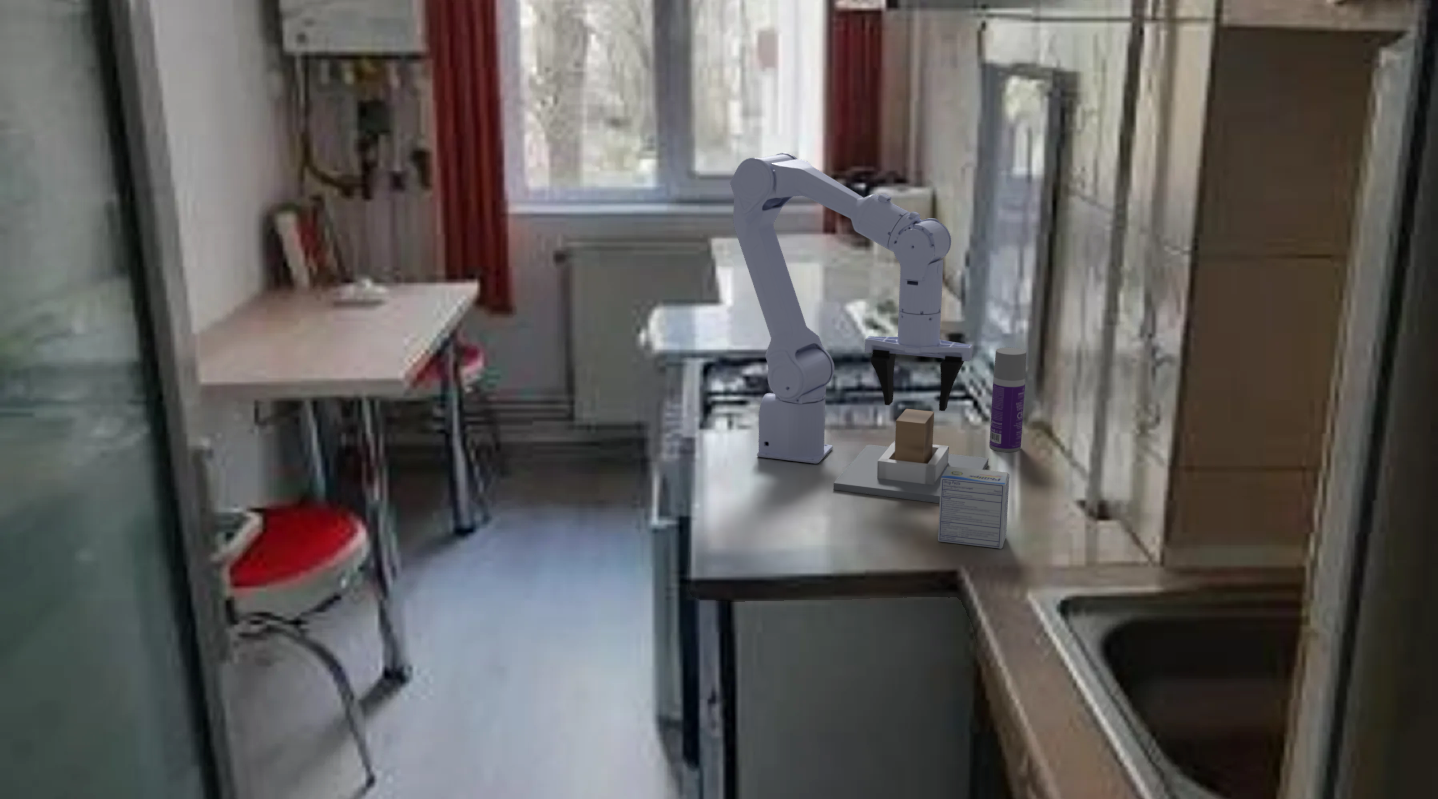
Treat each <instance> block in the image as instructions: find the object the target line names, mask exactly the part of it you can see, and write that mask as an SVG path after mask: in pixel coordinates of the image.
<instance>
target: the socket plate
mask: <svg viewBox="0 0 1438 799" xmlns="http://www.w3.org/2000/svg"><path fill="white" fill-rule="evenodd" d="M949 451H950V446H949V445H943V444H942V445H941V444H933V448H932V458H931V460H930V461H929V463H928V464H925V463H916V462H908V461H899V460H895V439H894V440H893V441H892V442H891V444H890V445H889V446H886V445H885V446H884V445H876V444H875V445H874V444H869V443H867V444H866V445H865V447H864V448H863V449H862V450H861V451H860V452H859V453H858V455H857V456H856V457H855V458H854V459H853V460H852V462H851V463H850V464H848V466H847V467H846V468H845V469H844V471H843V472H842V473H840V475H839V476H838V477H837V478H836V480H834V482H833V491H839V492H840V491H841V492H848V493H849V492H850V493H857V494H862V495H863V494H864V495H872V496H880V497H887V498H894V499H895V498H896V499H902V500H903V499H905V500H911V501H917V502H918V501H920V502H926V503H927V502H928V503H935V504H940V482H941V477H942V475H943V473H944V471H945V470H946V468H947V467H948V466H950V467H961V468H971V469H982V470H987V467H988V466H989V458H988V457H982V456H981V457H980V456H971V455H963V454H954V453H950V452H949Z"/></svg>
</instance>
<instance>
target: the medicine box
mask: <svg viewBox="0 0 1438 799" xmlns="http://www.w3.org/2000/svg"><path fill="white" fill-rule="evenodd" d="M1010 476H1011V475H1010V473H1009V472H1006V471H1000V470H999V471H998V470H989V469H985V470H982V469H971V468H961V467H950V466H948V467H947V468H946V470H945V471H944V473H943V475H942V477H941V482H940V503H939V507H938V508H939V509H938V510H939V511H938V530H937V541H938V542H939V543H940V542H941V543H948V544H950V543H951V544H957V545H959V544H960V545H965V546H966V545H968V546H975V547H985V548H990V549H991V548H992V549H993V548H994V549H999V550H1000V549H1001V550H1002V549H1003V547H1004V543H1005V540H1006V536H1007V530H1008V529H1007V527H1008V508H1009V506H1008V505H1009V494H1010V493H1009V489H1010Z"/></svg>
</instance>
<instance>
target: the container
mask: <svg viewBox="0 0 1438 799" xmlns="http://www.w3.org/2000/svg"><path fill="white" fill-rule="evenodd" d="M1026 370H1027V350H1025V349H1023V348H1020V347H1019V348H1018V347H1009V346H1008V347H1007V346H1006V347H999V348H996V349H995V355H994V366H993V378H992V393H991V411H990V426H989V427H990V428H989V444H988V445H989V448H990V449H991V450H993V451H996V452H1001V453H1014V452H1015V453H1016V452H1018V451H1020V450H1022V449H1021V448H1022V434H1023V422H1024V408H1025V407H1024V406H1025V391H1026V374H1027V373H1026V372H1027V371H1026Z"/></svg>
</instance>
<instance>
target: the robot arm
mask: <svg viewBox="0 0 1438 799" xmlns="http://www.w3.org/2000/svg"><path fill="white" fill-rule="evenodd" d="M729 184H730V187H731V190H732V194H733V196H734V198H733V215H732V216H733V218H732V224H733V228H734V231H735V233H736V237H737V239H738V242H739V243H738V244H739V246H740V248H741V252H742V255H743V258H744V261H745V265H746V266H747V270H748V272H749V273H748V274H749V276H750V279H751V283H752V286H753V288H754V291H755V294H756V296H757V300H758V304H759V305H760V308H761V309H760V310H761V312H762V315H763V318H764V322H765V325H766V327H767V330H768V332H769V336H770V341H769V344H768V347H767V350H766V352H765V354H764V356H765V359H766V362H767V383H768V386H769V388H770V390H771V391H772V392H768V393H765V394H764V395H763V397H762V399H761V401H760V405H759V410H758V413H759V414H758V452H757V454H756V456H757V457H758V458H765V459H766V458H767V459H774V460H783V461H793V462H798V463H799V462H800V463H807V464H809V463H810V464H819V463H820V462H821V461H822V460H823V459H824V458H825V457H826V456H827V455H828V454H829V453H830V452H831V450H833V445H832V444H825V429H826V428H825V427H826V426H825V424H826V422H825V421H826V392H827V385H828V384H829V383H830V382H831V381H832V380H833V377H834V374H835V363H834V360H833V358H832V356H831V355H830V353H829V352H828V351H827V349H825V347H824V346H823V343H822V342H821V338H820V336H819V335H818V334H817V333H816V332H815V331H813V330H812V329H810V328H809V327H808V326H807V324H806V321H805V317H804V315H803V314H804V313H803V312H802V309H801V306H800V303H799V302H800V301H799V300H798V296H797V294H796V290H795V288H794V287H795V286H794V284H793V281H792V279H791V278H792V277H791V276H790V272H789V270H788V265H787V263H786V260H785V257H784V253H783V251H782V248H781V244H780V242H779V238H778V236H777V232H776V230H775V227H774V224H775V223H776V220H777V219H778V217H779V214H780V212H781V211H782V208H783V207H784V206H785V205H786V204H787V203H789V202H790V200H791V199H793V198H794V197H805V198H807V199H809V200H811V201H813V202H815V203H817V204H820V205H822V206H823V207H825V208H828V209H830V210H832V211H834V212H836V213H838V214H840V215H842V216H845V217H847V218H848V219H850V220H851V225H852V227H853V230H854V232H856V233H858V234H860V235H861V236H864V237H865V238H867V239H868V240H870V241H872V242H874V243H875V244H878V245H880V246H881V247H883V248H884V249H887V250H889V251H890V252H892V253H893V254H894V256H895V259H896V260H897V262H898V263H899V267H900V270H899V271H900V272H899V292H898V295H899V296H898V317H897V318H898V320H897V336H875V335H874V336H873V335H869V336H867V337H866V338H865V340H864V352H865V353H867V354H868V353H871V357H870V363H871V366H872V368H873V369H874V371H875V374H876V375H877V378H878V381H879V384H880V386H881V390H882V395H883V402H884V405H885V406H890V405H892V403H893V402H894V372H895V366H896V365H895V363H896V357H897V356H896V355H905V356H916V357H917V356H918V357H930V358H941V359H943V360H942V361H941V362H940V363H939V364H940V365H939V367H940V392H939V395H940V396H939V402H938V410H939V411H940V412H945V411H946V410H947V408H948V402H949V398H950V395H951V392H952V389H953V386H954V384H955V381H956V379H957V376H958V374H959V372H961V371H960V370H962V367H963V365H964V363H965V362H970V361H971V360H973V359H972V358H973V349H974V348H973V347H974V346H973V345H974V344H968V343H962V342H955V341H949V340H944V339H940V338H941V318H942V304H943V303H942V299H943V298H942V296H943V278H944V277H943V275H944V259H943V258H945V257H946V256H947V255H948V253H949V251H950V249H951V246H952V238H951V237H952V236H951V233H950V231H949V230H948V228H947V227H946V226H945V225H944V224H943V223H942V222H940V220H939V219H937V218H931V217H930V218H926V219H921V214H920V213H919V212H917V211H911V212H910V211H909V210H906V209H905V208H902V207H901V206H898V205H896V203H893V202H891V200H892V196H889V195H888V194H886V193H882V194H879V195H878V194H875V193H874V194H869V195H867V196H862V195H860V194H858V193H857V192H855V191H853V189H851V188H849V187H847V186H846V185H844V184H842V183H841V182H838V181H837V180H836V179H834V178H832V177H830V176H829V175H827V174H826V173H824V172H822V171H821V170H819V169H817V168H816V167H814V166H813V165H812V164H811V163H810V162H809V161H808V160H805V159H802V158H797V156H795V155H793V153H792V154H791V153H789V152H780V153H777V154H774V155H767V156H761V157H754V156H753V157H749V158H746V159H744V160H743V161H741V162H740V164H739V165H738V167H737V168H736V170H735V171H734V174H733V176H732V178H731V179H730V182H729Z"/></svg>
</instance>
